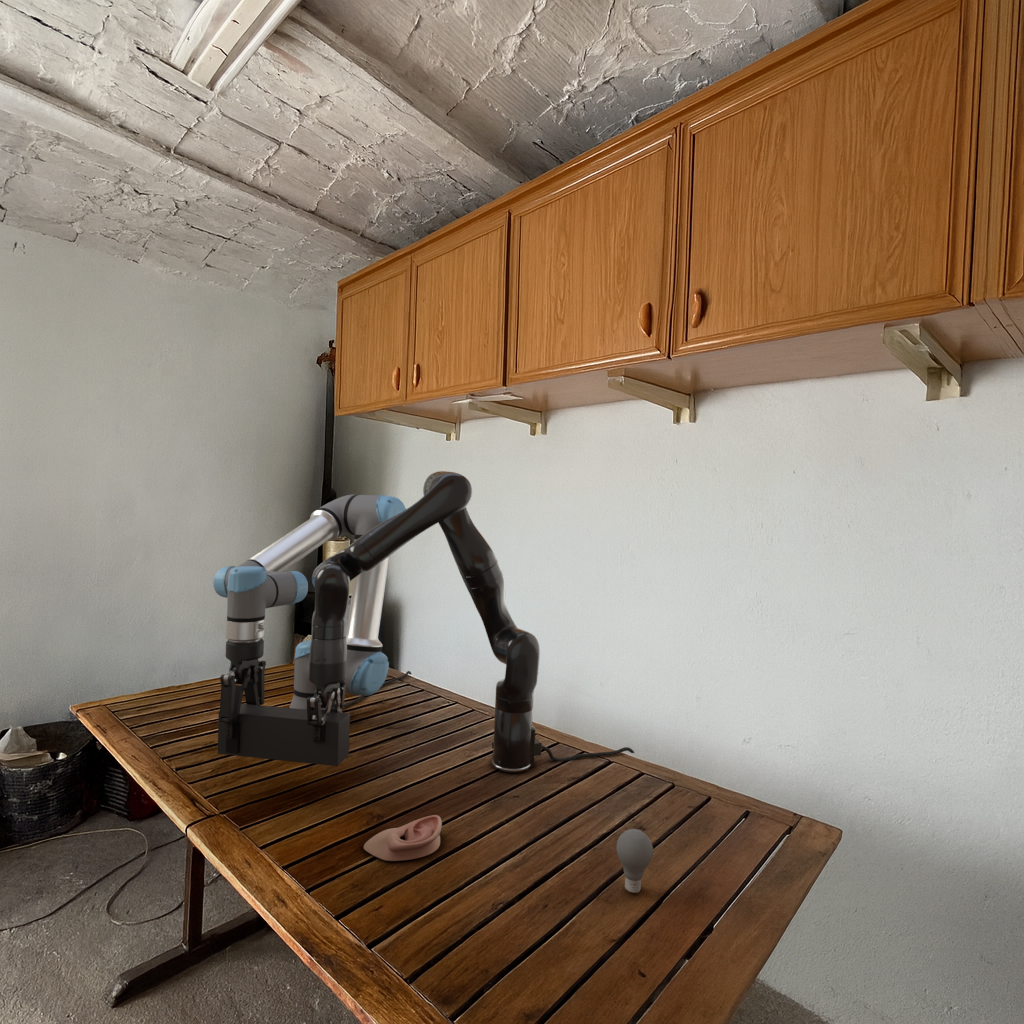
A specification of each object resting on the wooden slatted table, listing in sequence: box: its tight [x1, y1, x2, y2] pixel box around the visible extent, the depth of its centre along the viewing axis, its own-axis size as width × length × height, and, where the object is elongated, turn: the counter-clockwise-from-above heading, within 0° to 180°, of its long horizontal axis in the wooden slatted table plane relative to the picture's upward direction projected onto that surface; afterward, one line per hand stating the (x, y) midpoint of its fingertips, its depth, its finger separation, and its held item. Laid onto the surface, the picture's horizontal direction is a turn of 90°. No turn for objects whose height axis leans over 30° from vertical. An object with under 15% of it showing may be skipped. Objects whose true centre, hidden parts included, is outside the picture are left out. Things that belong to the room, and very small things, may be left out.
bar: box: [217, 703, 351, 767], centre depth 134 cm, size 27×6×9 cm, turn 81°
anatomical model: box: [363, 814, 443, 862], centre depth 116 cm, size 13×4×12 cm
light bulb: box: [615, 828, 654, 894], centre depth 106 cm, size 6×6×10 cm
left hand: (241, 746), depth 136 cm, fingers closed on bar, 6 cm apart
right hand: (325, 737), depth 133 cm, fingers closed on bar, 6 cm apart
